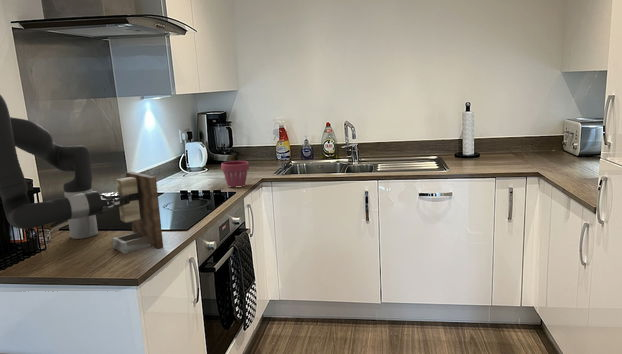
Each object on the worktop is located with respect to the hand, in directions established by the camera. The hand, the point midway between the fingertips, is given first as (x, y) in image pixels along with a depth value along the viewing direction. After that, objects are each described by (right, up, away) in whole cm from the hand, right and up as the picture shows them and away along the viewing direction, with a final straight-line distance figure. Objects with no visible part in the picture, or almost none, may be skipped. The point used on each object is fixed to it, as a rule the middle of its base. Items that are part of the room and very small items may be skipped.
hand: (135, 195), depth 160 cm
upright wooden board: (-1, -18, +1) cm, 18 cm away
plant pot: (+19, +1, +93) cm, 95 cm away
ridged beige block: (-2, -8, 0) cm, 8 cm away
